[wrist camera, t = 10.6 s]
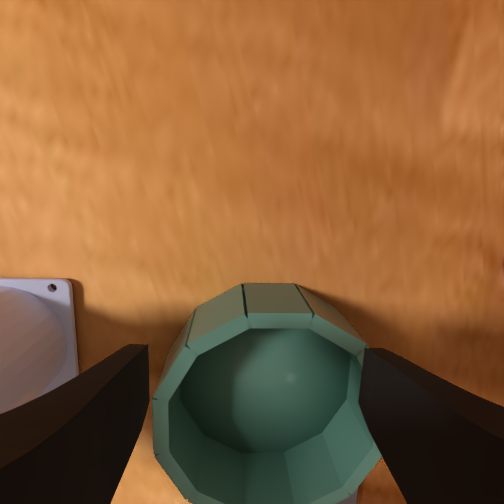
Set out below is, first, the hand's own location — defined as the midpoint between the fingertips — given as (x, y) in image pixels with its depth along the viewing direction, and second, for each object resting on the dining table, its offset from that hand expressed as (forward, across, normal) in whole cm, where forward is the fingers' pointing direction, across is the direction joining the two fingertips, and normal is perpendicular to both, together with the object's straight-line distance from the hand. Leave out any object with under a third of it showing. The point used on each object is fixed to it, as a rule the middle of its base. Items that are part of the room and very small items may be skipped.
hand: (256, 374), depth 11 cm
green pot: (+10, -2, +6) cm, 12 cm away
